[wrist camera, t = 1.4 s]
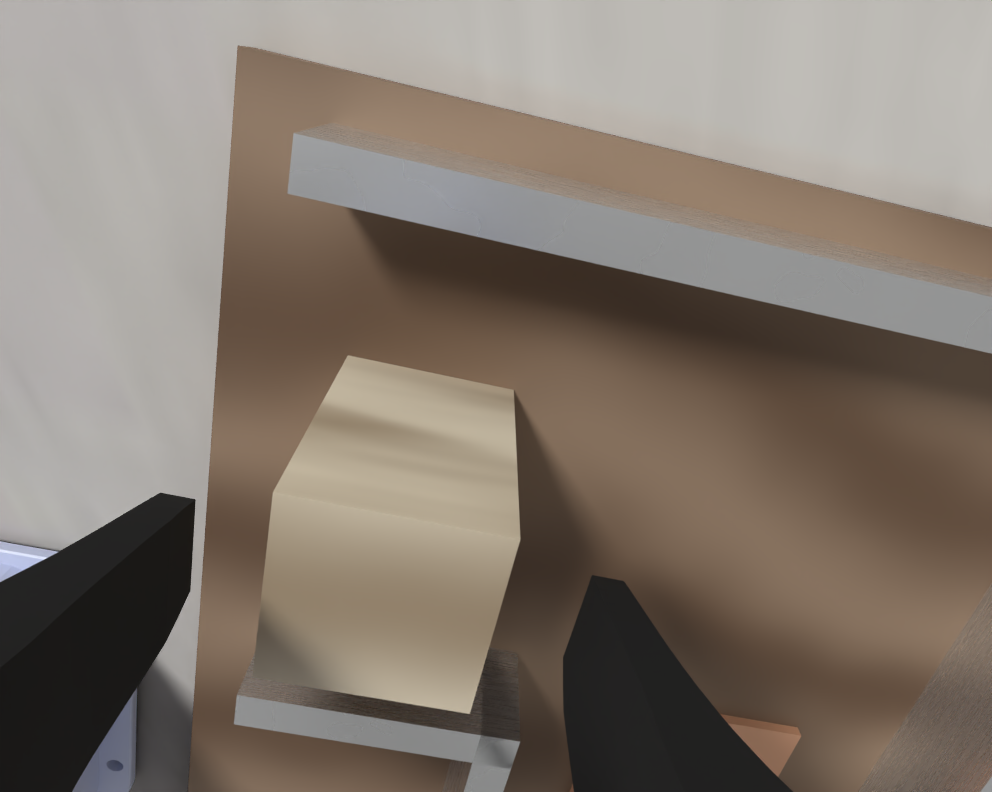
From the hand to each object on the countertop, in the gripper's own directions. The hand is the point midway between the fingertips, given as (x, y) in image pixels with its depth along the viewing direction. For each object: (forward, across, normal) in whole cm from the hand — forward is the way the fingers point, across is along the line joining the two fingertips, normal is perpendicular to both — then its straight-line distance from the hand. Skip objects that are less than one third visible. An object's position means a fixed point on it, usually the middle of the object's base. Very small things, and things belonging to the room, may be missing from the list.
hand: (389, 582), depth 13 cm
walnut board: (+6, -7, +4) cm, 10 cm away
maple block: (+5, 0, 0) cm, 5 cm away
